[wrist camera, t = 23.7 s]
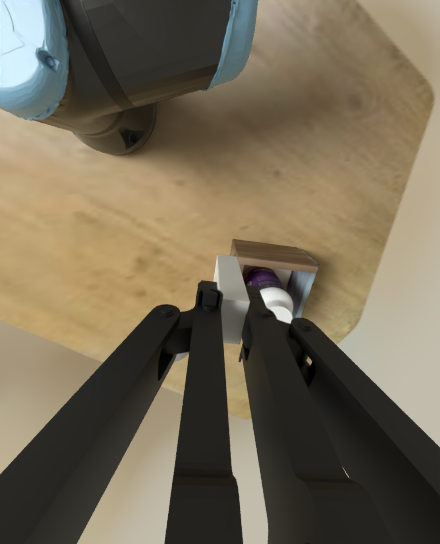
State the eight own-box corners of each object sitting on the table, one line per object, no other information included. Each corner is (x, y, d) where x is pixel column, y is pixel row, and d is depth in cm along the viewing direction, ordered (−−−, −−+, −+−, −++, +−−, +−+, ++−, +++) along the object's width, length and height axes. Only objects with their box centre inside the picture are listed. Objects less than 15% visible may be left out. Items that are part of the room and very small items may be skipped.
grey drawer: (240, 241, 46) (245, 254, 39) (307, 250, 48) (325, 264, 40) (228, 304, 53) (231, 326, 45) (288, 310, 54) (300, 333, 46)
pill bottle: (239, 265, 47) (250, 300, 34) (277, 262, 47) (302, 297, 34) (240, 297, 50) (250, 342, 37) (275, 295, 50) (298, 338, 37)
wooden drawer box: (232, 239, 46) (238, 257, 36) (296, 247, 48) (318, 267, 38) (221, 303, 53) (223, 333, 43) (278, 309, 54) (293, 340, 44)
